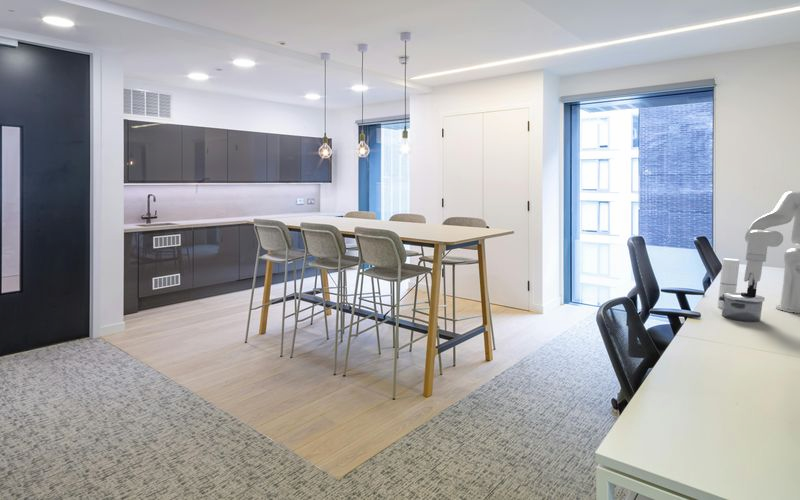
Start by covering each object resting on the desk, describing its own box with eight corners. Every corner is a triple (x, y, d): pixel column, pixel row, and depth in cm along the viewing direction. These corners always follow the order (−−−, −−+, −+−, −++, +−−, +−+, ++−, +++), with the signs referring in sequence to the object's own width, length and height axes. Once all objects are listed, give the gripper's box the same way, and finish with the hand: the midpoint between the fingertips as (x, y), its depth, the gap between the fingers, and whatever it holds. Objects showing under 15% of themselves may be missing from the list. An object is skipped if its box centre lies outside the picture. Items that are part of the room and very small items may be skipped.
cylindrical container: (719, 308, 249) (725, 259, 246) (715, 305, 256) (720, 258, 253) (736, 309, 247) (741, 260, 244) (731, 306, 254) (736, 258, 251)
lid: (727, 293, 242) (728, 288, 241) (767, 298, 230) (767, 293, 230) (719, 298, 231) (719, 292, 230) (760, 303, 219) (761, 297, 219)
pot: (724, 310, 245) (726, 292, 244) (764, 317, 233) (766, 298, 232) (713, 317, 231) (715, 298, 230) (755, 325, 220) (757, 305, 219)
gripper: (749, 255, 234) (744, 293, 236) (742, 258, 223) (737, 297, 226) (769, 257, 228) (764, 296, 231) (762, 260, 218) (757, 300, 220)
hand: (750, 296), depth 228 cm, fingers closed
